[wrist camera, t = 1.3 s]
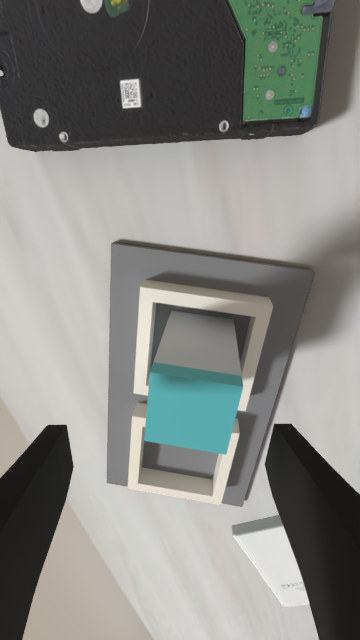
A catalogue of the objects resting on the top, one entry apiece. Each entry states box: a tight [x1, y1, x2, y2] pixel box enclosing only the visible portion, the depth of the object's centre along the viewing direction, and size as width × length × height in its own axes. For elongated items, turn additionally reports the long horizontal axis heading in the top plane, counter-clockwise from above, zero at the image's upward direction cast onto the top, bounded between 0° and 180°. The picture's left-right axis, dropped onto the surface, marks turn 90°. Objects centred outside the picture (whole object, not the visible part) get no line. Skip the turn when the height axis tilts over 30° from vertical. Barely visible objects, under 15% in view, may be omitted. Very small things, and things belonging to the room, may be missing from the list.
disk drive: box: [0, 0, 335, 152], centre depth 13 cm, size 10×3×15 cm
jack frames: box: [128, 280, 273, 505], centre depth 21 cm, size 17×8×2 cm, turn 173°
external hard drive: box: [232, 515, 310, 607], centre depth 29 cm, size 2×8×12 cm
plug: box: [144, 310, 243, 455], centre depth 17 cm, size 4×4×7 cm
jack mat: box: [107, 242, 315, 507], centre depth 22 cm, size 21×12×1 cm, turn 173°
